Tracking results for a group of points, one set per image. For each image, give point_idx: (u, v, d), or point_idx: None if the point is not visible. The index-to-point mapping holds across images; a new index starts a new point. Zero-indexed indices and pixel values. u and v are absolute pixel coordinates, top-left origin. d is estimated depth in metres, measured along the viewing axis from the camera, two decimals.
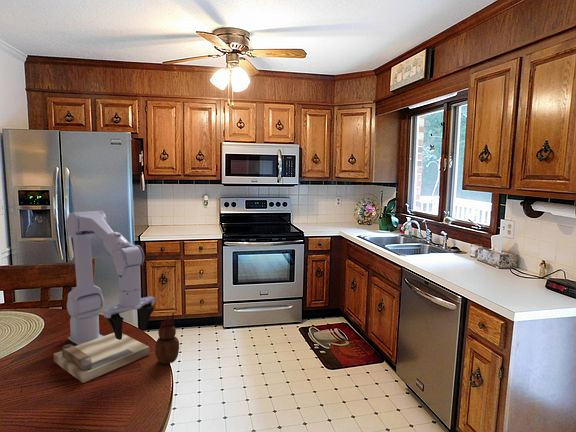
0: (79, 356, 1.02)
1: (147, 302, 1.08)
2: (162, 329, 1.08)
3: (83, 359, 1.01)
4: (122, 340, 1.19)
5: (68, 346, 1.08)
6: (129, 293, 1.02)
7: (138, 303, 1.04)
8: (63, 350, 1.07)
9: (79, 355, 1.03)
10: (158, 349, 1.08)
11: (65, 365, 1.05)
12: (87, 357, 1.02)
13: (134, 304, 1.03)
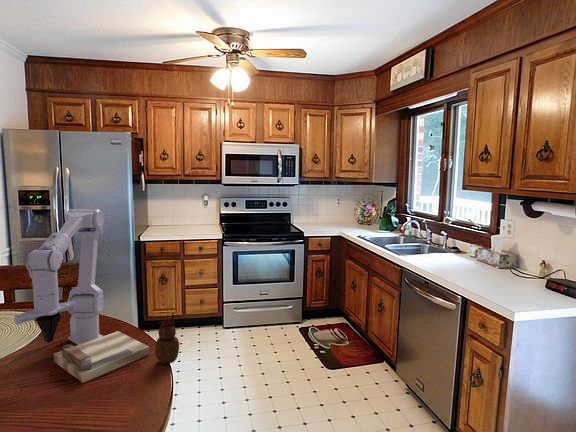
0: (79, 356, 1.02)
1: (66, 307, 1.03)
2: (162, 329, 1.08)
3: (83, 359, 1.01)
4: (122, 340, 1.19)
5: (68, 346, 1.08)
6: (43, 298, 0.97)
7: (54, 308, 1.00)
8: (63, 350, 1.07)
9: (79, 355, 1.03)
10: (158, 349, 1.08)
11: (65, 365, 1.05)
12: (87, 357, 1.02)
13: (49, 310, 0.98)
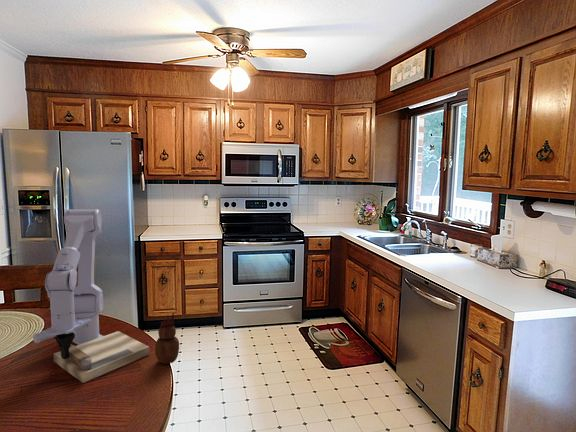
0: (79, 356, 1.03)
1: (82, 325, 1.07)
2: (162, 329, 1.08)
3: (83, 359, 1.01)
4: (122, 340, 1.19)
5: None
6: (60, 317, 1.01)
7: (71, 327, 1.03)
8: None
9: (79, 355, 1.03)
10: (158, 349, 1.08)
11: (65, 365, 1.05)
12: (87, 357, 1.02)
13: (66, 328, 1.02)
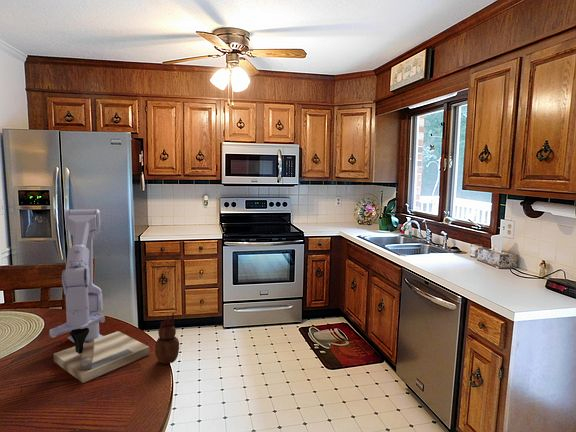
0: (84, 354, 1.04)
1: (96, 321, 1.10)
2: (162, 329, 1.08)
3: (83, 358, 1.01)
4: (122, 340, 1.19)
5: (89, 341, 1.11)
6: (75, 313, 1.04)
7: (85, 322, 1.06)
8: None
9: (85, 353, 1.04)
10: (158, 349, 1.08)
11: (65, 365, 1.05)
12: (88, 357, 1.02)
13: (81, 323, 1.05)
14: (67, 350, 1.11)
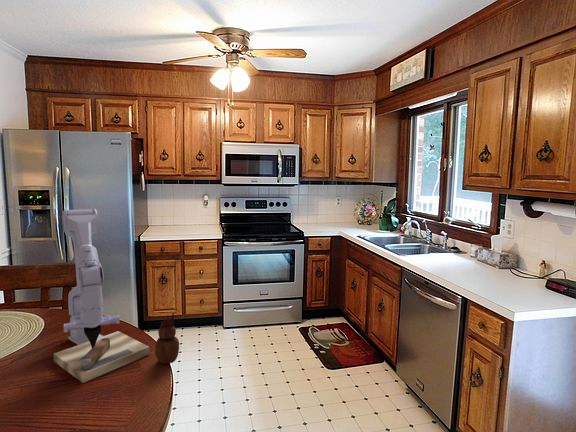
0: (89, 353, 1.04)
1: (109, 321, 1.10)
2: (162, 329, 1.08)
3: (84, 358, 1.01)
4: (122, 340, 1.19)
5: (105, 340, 1.12)
6: (85, 311, 1.06)
7: (95, 322, 1.07)
8: None
9: (90, 353, 1.04)
10: (158, 349, 1.08)
11: (65, 365, 1.05)
12: (88, 358, 1.02)
13: (90, 322, 1.06)
14: (67, 350, 1.11)
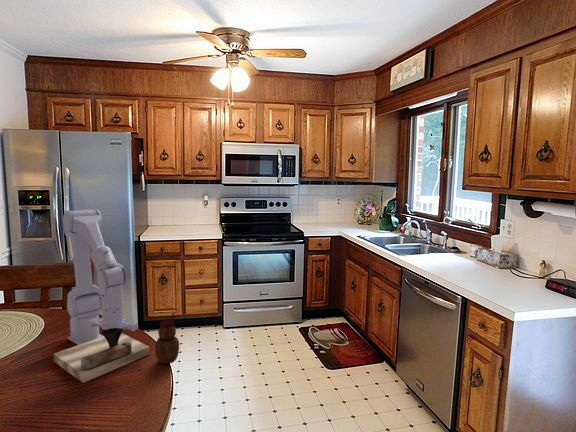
0: (95, 354, 1.04)
1: (123, 327, 1.06)
2: (162, 329, 1.08)
3: (85, 357, 1.02)
4: (122, 340, 1.19)
5: (125, 344, 1.10)
6: (102, 311, 1.06)
7: (109, 324, 1.06)
8: None
9: (97, 354, 1.04)
10: (158, 349, 1.08)
11: (65, 365, 1.05)
12: (88, 358, 1.01)
13: (105, 323, 1.06)
14: (67, 350, 1.11)
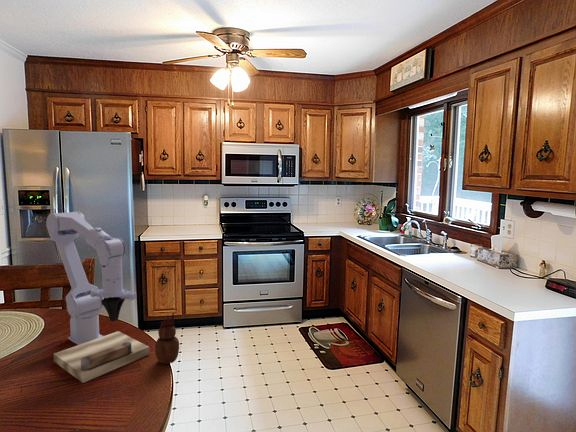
0: (95, 354, 1.04)
1: (122, 296, 1.12)
2: (162, 329, 1.08)
3: (85, 357, 1.02)
4: (122, 340, 1.19)
5: (125, 344, 1.10)
6: (102, 281, 1.12)
7: (109, 293, 1.11)
8: None
9: (97, 354, 1.04)
10: (158, 349, 1.08)
11: (65, 365, 1.05)
12: (88, 358, 1.01)
13: (105, 292, 1.12)
14: (67, 350, 1.11)
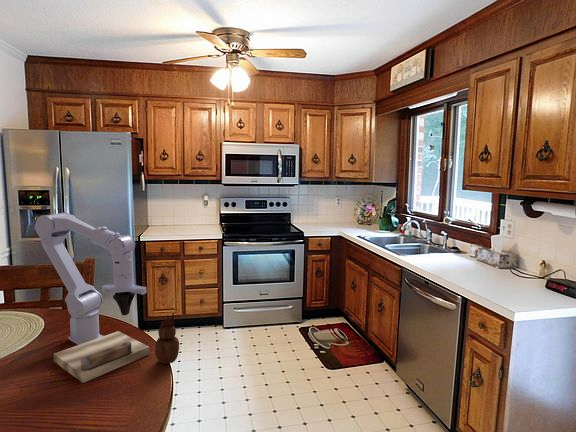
0: (95, 354, 1.04)
1: (133, 290, 1.17)
2: (162, 329, 1.08)
3: (85, 357, 1.02)
4: (122, 340, 1.19)
5: (125, 344, 1.10)
6: (114, 276, 1.16)
7: (121, 288, 1.16)
8: None
9: (97, 354, 1.04)
10: (158, 349, 1.08)
11: (65, 365, 1.05)
12: (88, 358, 1.01)
13: (117, 288, 1.16)
14: (67, 350, 1.11)
